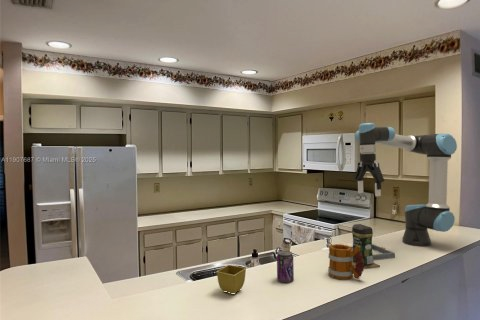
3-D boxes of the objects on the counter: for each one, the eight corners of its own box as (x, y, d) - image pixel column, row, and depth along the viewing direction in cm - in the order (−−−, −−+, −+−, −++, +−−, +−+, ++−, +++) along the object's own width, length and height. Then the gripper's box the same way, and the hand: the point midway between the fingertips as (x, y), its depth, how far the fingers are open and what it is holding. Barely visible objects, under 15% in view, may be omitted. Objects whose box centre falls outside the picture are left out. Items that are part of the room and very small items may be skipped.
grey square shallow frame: (373, 248, 183) (373, 243, 183) (395, 257, 166) (394, 251, 166) (347, 251, 179) (347, 245, 179) (366, 260, 162) (366, 254, 162)
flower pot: (235, 298, 122) (234, 275, 122) (216, 293, 127) (216, 271, 127) (246, 290, 130) (246, 268, 130) (228, 285, 134) (228, 264, 134)
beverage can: (283, 284, 134) (283, 256, 134) (274, 279, 141) (273, 251, 141) (297, 281, 138) (296, 253, 138) (287, 276, 144) (286, 249, 144)
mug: (335, 269, 152) (334, 237, 151) (369, 278, 140) (369, 244, 140) (322, 275, 144) (322, 242, 144) (358, 285, 132) (357, 249, 132)
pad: (365, 259, 164) (365, 258, 164) (379, 267, 153) (379, 265, 153) (346, 262, 161) (346, 260, 161) (359, 269, 150) (359, 267, 150)
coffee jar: (349, 260, 161) (348, 223, 160) (362, 258, 163) (362, 222, 163) (362, 266, 151) (361, 227, 151) (376, 264, 154) (375, 226, 154)
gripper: (347, 153, 176) (348, 192, 176) (377, 153, 152) (379, 198, 152) (358, 153, 178) (360, 191, 178) (391, 152, 154) (392, 196, 154)
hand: (369, 194), depth 165 cm, fingers open, 13 cm apart
